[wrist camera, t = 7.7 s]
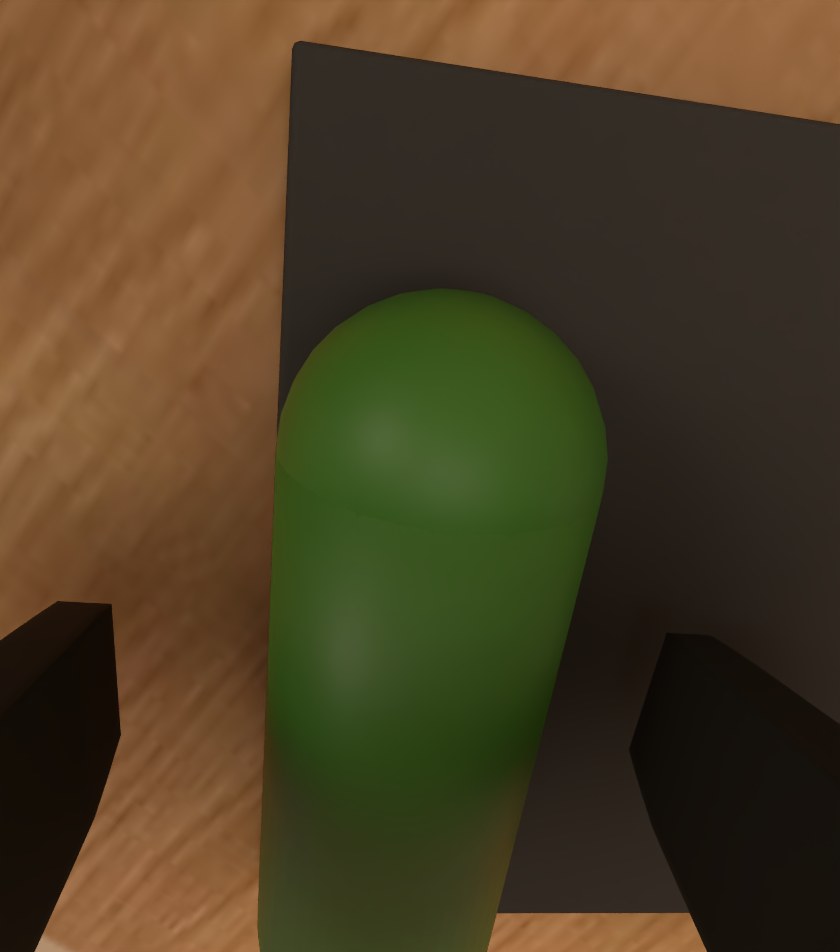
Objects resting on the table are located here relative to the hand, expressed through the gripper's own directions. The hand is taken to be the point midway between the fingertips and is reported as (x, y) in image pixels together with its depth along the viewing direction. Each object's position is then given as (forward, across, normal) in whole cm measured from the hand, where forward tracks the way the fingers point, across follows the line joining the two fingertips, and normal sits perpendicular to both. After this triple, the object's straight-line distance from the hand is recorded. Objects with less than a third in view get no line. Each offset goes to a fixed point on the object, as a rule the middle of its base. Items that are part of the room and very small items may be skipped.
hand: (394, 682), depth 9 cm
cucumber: (-1, 0, 0) cm, 1 cm away
